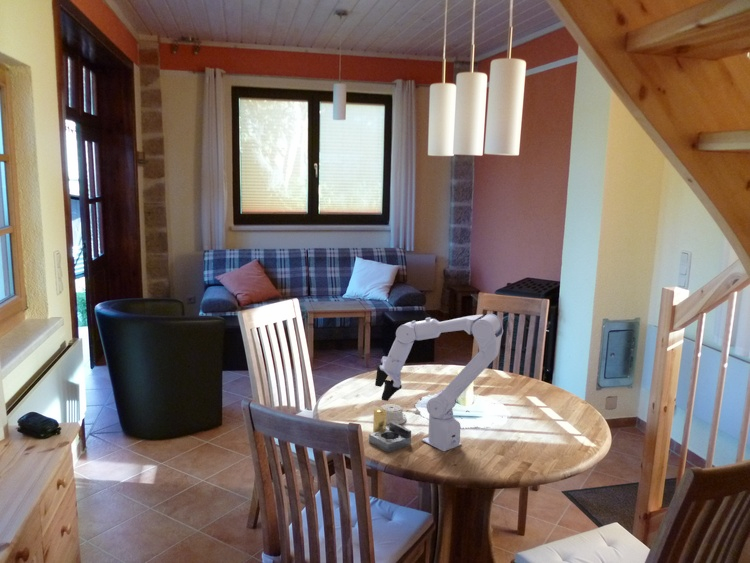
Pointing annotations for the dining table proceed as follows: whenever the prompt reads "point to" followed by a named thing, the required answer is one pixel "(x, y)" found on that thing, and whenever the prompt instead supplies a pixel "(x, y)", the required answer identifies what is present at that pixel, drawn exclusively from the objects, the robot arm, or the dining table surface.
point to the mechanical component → (394, 413)
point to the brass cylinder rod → (379, 420)
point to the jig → (391, 437)
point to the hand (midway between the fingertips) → (381, 392)
